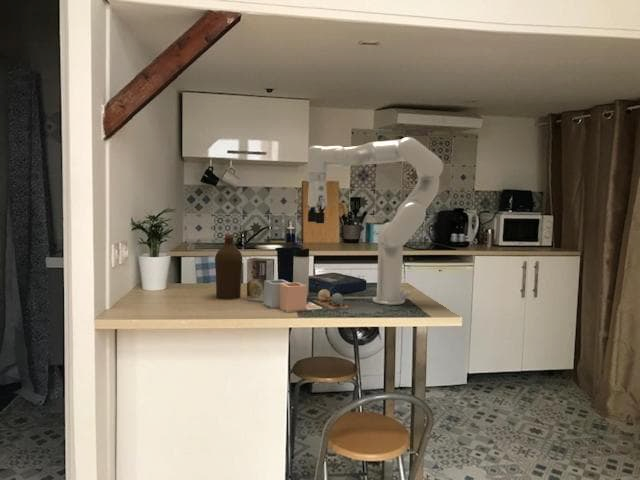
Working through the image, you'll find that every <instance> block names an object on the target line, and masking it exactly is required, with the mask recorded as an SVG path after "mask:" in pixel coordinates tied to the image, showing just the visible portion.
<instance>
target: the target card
mask: <svg viewBox="0 0 640 480" xmlns="http://www.w3.org/2000/svg"><path fill="white" fill-rule="evenodd" d="M322 309H323V306H321V305H320V306H319V305H317V304H316V303H313V302H311V301H309V302H308V301H307V300H306V311H310V310H311V311H312V310H313V311H314V310H322Z"/></svg>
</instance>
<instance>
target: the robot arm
mask: <svg viewBox="0 0 640 480" xmlns="http://www.w3.org/2000/svg"><path fill="white" fill-rule="evenodd" d="M307 152H308V154H307V156H308V157H307V159H308V160H307V178H306V179H307V182H308V190H307V211H308V212H307V222H308V223H310V222H311V223H316V224H324V223H325V212H326V208H327V206H328V199H327V198H328V193H327V191H328V190H327V189H328V188H327V181H328V165H331V166H333V167H335V168H336V167H338V168H340V167H351V166H362V165H377V164H389V163H390V164H391V163H401V162H406V163H408V164H409V165H410V166H412V167H413V168H414V169H415V171H416V175H417V183H416V185H415V186H414V188H413V189H412V191H411V192H410V193H409V195H407V197H406V198H405V199H404V201H403V202H402V203H401V204H400V205H399V206H398V208H397V211H396V215H395V216H394V217H393V219H392V220H391V221H388V222H385V223H383V224H381V226H380V228H379V229H378V233H377V244H378V245H377V247H378V250H377V251H378V253H377V254H378V256H377V276H376V277H377V278H376V280H377V281H376V296H374V297H372V302H373V303H374V304H375V303H376V304H380V305H387V306H389V305H390V306H391V305H392V306H393V305H398V306H399V305H404V303H405V302H406V300H405V299H404V297H410V296H411V295H412V292H411V291H404V290H402V277H403V261H404V259H403V256H404V255H403V249H404V248H403V246H404V245H405V244H406V243H408V241H409V240H410V238H411V237H412V236H413V235H414V234H415V233H416V231H417V230H418V229H419V228H420V227H421V225H422V224H423V223H424V221H425V219H426V215H427V213H426V212H427V211H426V209H428V207H429V206H430V204H431V203H432V202H433V201H434V199H435V198H436V196H437V194H438V193H439V189H440V188H439V187H440V176H441V175H442V173H443V171H444V163H443V161H442V159H441V158H440V157H439V156H438V155H436V154H435V153H434V152H432V151H431V150H430V149H428V148H427V147H426V146H425V145H423V144H422V143H421V142H420V141H418V140H417V139H415V138H414V137H411V136H406V137H403V138H399V139H390V140H381V141H380V140H379V141H371V142H367V143H365V144H361V145H356V146H348V147H346V146H345V147H344V146H342V145H331V146H329V145H328V146H324V145H311V146H309V148H308V151H307Z"/></svg>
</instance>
